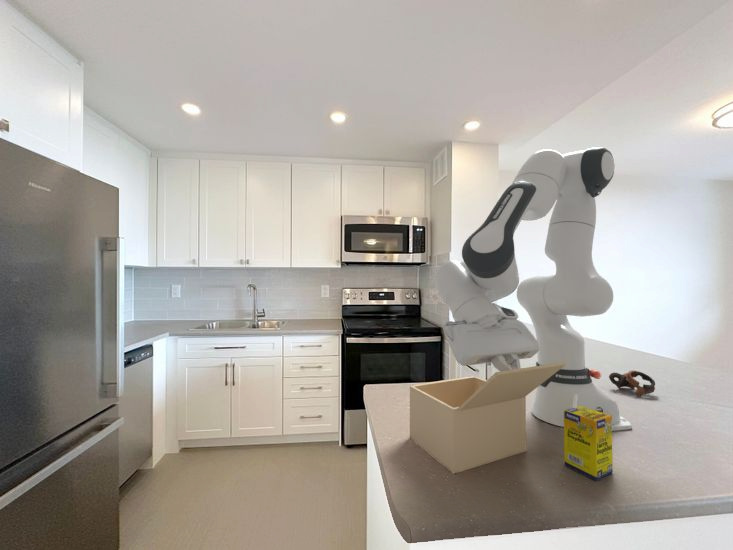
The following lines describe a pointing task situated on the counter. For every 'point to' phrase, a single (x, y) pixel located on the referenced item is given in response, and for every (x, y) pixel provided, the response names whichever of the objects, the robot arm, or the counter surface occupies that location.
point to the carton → (464, 424)
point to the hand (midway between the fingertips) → (517, 379)
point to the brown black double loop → (633, 382)
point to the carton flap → (510, 385)
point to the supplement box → (588, 442)
